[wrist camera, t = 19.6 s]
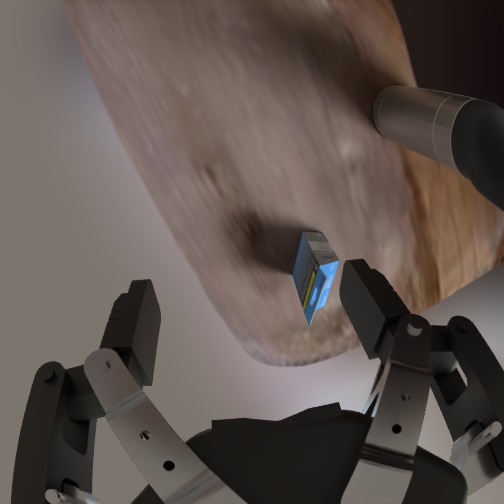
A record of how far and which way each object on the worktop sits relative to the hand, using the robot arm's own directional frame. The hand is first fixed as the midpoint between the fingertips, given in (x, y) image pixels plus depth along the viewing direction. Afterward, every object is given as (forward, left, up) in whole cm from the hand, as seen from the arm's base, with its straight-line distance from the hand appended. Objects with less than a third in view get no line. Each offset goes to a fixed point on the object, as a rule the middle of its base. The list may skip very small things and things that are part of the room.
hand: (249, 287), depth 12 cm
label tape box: (-12, +19, -30) cm, 38 cm away
